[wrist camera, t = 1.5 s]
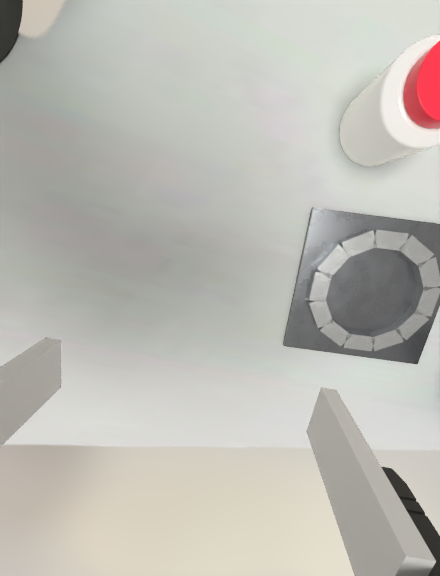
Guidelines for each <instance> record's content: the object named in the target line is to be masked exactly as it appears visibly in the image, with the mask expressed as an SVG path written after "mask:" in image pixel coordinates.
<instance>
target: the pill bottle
mask: <svg viewBox="0 0 440 576" xmlns="http://www.w3.org/2000/svg"><path fill="white" fill-rule="evenodd" d="M339 135H340V142H341V146H342V149H343V151H344V153H345V154H346V155H347V156H348V158H349V159H351V160H352V161H353V162H354V163H357V164H359V165H362V166H367V167H374V166H378V165H382V164H385V163H388V162H391V161H394V160H397V159H400V158H403V157H406V156H409V155H412V154H415V153H418V152H421V151H424V150H427V149H430V148H432V147H435V146H437V145H440V34H437V35H433V36H429V37H426V38H424V39H422V40H420V41H418V42H416V43H414V44H413V45H411V46H410V47H408V48H407V49H406V50H405V51H403V52H402V53H401V54H400V55H399V56H398V57H397V58H396V59H395V60H394V61H393V62H392V63H391V64H390V65H389V66H388V67H387V68H386V69H385V70H384V71H383V72H382V73H381V74H380V75H379V76H378V77H376V78H375V79H374V80H373V81H372V82H371V83H370V84H369V85H368V86H367V87H366V88H365V89H364V90H363V91H362V92H361V93H360V94H359V95H358V96H357V97H356V98H355V99H354V100H353V101H352V102H351V103H350V104H349V106H348V107H347V109H346V111H345V113H344V115H343V117H342V120H341V124H340V131H339Z"/></svg>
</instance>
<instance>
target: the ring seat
mask: <svg viewBox="0 0 440 576" xmlns="http://www.w3.org/2000/svg"><path fill="white" fill-rule="evenodd" d="M439 306H440V224H435V223H427V222H420V221H412V220H404V219H396V218H388V217H380V216H372V215H364V214H357V213H349V212H341V211H333V210H325V209H317V208H312V210H311V214H310V219H309V224H308V229H307V233H306V238H305V243H304V248H303V252H302V257H301V262H300V267H299V271H298V276H297V281H296V286H295V290H294V295H293V300H292V305H291V309H290V314H289V319H288V324H287V328H286V333H285V338H284V342H283V345H284V346H288V347H295V348H302V349H310V350H317V351H324V352H332V353H339V354H346V355H354V356H361V357H368V358H376V359H383V360H390V361H398V362H405V363H412V364H418V361H419V359H420V356H421V353H422V351H423V348H424V346H425V343H426V340H427V338H428V335H429V332H430V330H431V327H432V324H433V322H434V319H435V316H436V314H437V311H438V309H439Z"/></svg>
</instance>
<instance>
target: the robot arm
mask: <svg viewBox="0 0 440 576" xmlns="http://www.w3.org/2000/svg"><path fill="white" fill-rule="evenodd" d="M22 3H23V1H22V0H0V60H2V59H3V57H4V56H5V55H6V54H7V53H8V51H9V50H10V49H11V47H12V45H13V43H14V41H15V39H16V37H17V34H18V31H19V27H20V22H21V17H22ZM60 387H61V340H56V339H51V338H45V339H43V340H41V341H40V342H38V343H37V344H35V345H34V346H32V347H31V348H29V349H28V350H26V351H25V352H23V353H21V354H20V355H18V356H17V357H15V358H14V359H12V360H11V361H9V362H8V363H6V364H5V365H3V366H1V367H0V447H1V446H2V445H3V444H4V443H5V442H6V441H7V440H8V439H9V438H10V437H11V436H12V435H13V434H14V433H15V432H16V431H17V430H18V429H19V428H20V427H21V426H22V425H23V424H24V423H25V422H26V421H27V420H28V419H29V418H30V417H31V416H32V415H33V414H34V413H35V412H36V411H37V410H38V409H39V408H40V407H41V406H42V405H43V404H44V403H45V402H46V401H47V400H48V399H49V398H50V397H51V396H52V395H53V394H54V393H55V392H56V391H57V390H58V389H59V388H60ZM307 434H308V437H309V440H310V443H311V446H312V449H313V452H314V455H315V458H316V461H317V464H318V467H319V470H320V473H321V476H322V479H323V482H324V485H325V488H326V491H327V494H328V497H329V500H330V503H331V506H332V509H333V512H334V515H335V518H336V521H337V524H338V527H339V530H340V533H341V536H342V539H343V542H344V545H345V548H346V551H347V554H348V556H349V560H350V563H351V566H352V569H353V572H354V575H355V576H440V536H439V535H438V533H437V531H436V530H435V528H434V526H433V525H432V523H431V522H430V520H429V519H428V517H427V516H425V513H424V511H423V509H422V508H421V506H420V505H419V503H418V502H416V498H415V497H414V495H413V494H412V492H411V490H410V489H409V487H408V486H407V484H406V483H405V482H404V481H403V480H402V479H401V478H400V477H399V476H398V475H397V474H396V472H395V471H394V470H392V469H391V468H385V467H381V466H380V464H379V462H378V461H377V459H376V457H375V456H374V454H373V452H372V450H371V449H370V447H369V445H368V444H367V442H366V440H365V438H364V437H363V435H362V433H361V431H360V430H359V428H358V426H357V425H356V423H355V421H354V419H353V418H352V416H351V414H350V413H349V411H348V409H347V407H346V406H345V404H344V402H343V401H342V399H341V397H340V395H339V394H338V392H337V390H333V389H327V388H322V387H321V389H320V392H319V395H318V399H317V402H316V405H315V408H314V411H313V414H312V417H311V420H310V423H309V426H308V429H307Z"/></svg>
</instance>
